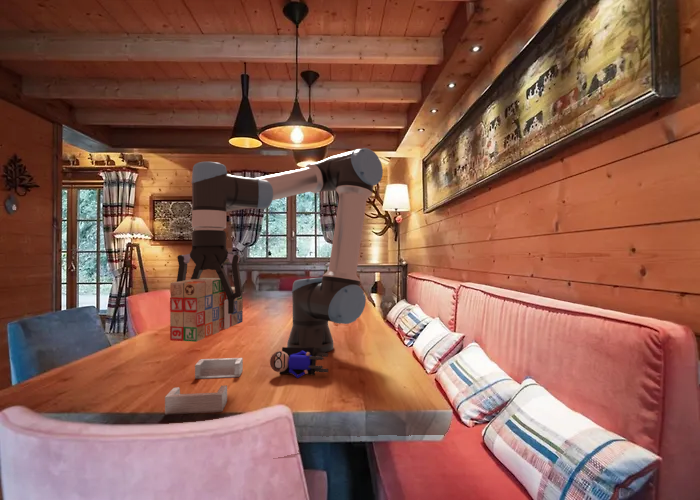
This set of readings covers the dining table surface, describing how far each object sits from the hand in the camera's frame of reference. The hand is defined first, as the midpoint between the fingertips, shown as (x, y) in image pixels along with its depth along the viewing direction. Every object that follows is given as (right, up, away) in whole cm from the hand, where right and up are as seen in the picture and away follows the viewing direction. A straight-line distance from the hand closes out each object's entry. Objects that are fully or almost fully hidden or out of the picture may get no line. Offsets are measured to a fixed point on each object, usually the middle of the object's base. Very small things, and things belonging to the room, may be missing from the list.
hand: (209, 327), depth 90 cm
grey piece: (-1, -14, +11) cm, 18 cm away
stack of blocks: (0, -1, +1) cm, 1 cm away
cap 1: (+1, -14, -10) cm, 18 cm away
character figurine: (+20, -15, +10) cm, 26 cm away
